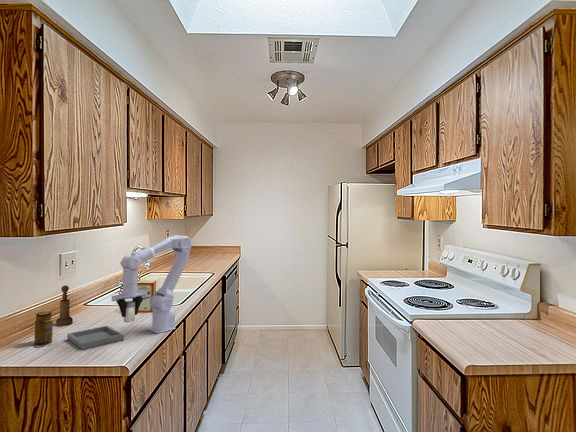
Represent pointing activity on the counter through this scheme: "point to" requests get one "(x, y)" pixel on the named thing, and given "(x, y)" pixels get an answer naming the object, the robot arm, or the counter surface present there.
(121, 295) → the robot arm
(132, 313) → the shaker
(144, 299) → the spice box
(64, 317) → the brown pepper mill
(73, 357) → the counter surface
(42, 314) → the condiment
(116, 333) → the tray
